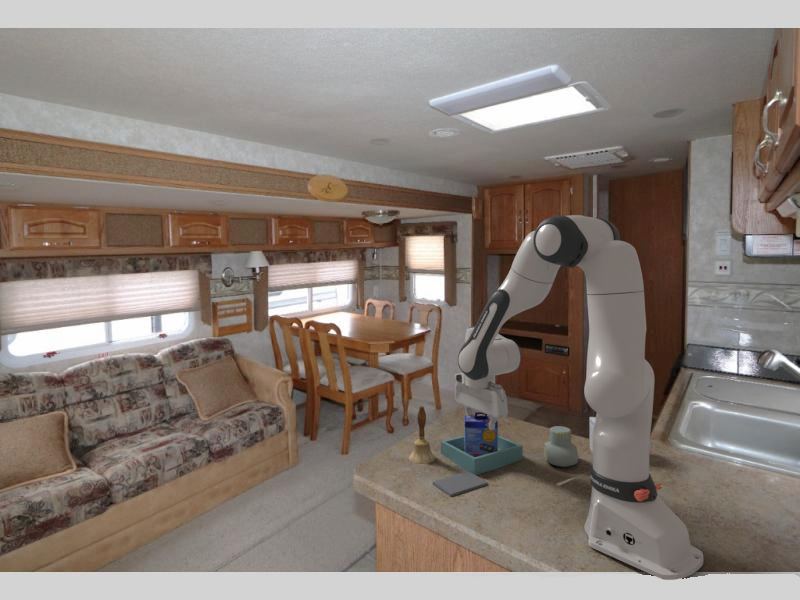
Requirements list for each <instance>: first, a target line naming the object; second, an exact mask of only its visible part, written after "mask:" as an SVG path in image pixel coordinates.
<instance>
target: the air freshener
mask: <svg viewBox="0 0 800 600" xmlns="http://www.w3.org/2000/svg"><path fill="white" fill-rule="evenodd" d="M543 454H544V458H545V459H544V460H545V461H546V462H547V463H548V464H550V465H553V466H555V467H559V468H567V467H571V466H574V465H576V464H578V461H579V454H578V449H577V446H576V445H575V444H574V443H572V430H571V428H568V427H566V426H560V425H559V426H558V425H554V426H552V427H550V428H549V440H548V441H546V442H545V443H543Z"/></svg>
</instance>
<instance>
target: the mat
mask: <svg viewBox="0 0 800 600" xmlns="http://www.w3.org/2000/svg"><path fill="white" fill-rule="evenodd" d="M488 484H489V483H488V481H486V480H485V479H483V478H482V477H479V476H478V475H474V474H473V473H471V472H469V471H464V472H460V473H457V474H455V475H451V476H447V477H445V478H441V479H437V480H434V481H432V485H433V486H435V487H436V488H437V489H439V490H441V492H443V493H444V494H446V495H447V496H449V497H455V496H456V495H461V494H463V493H466V492H469V491H471V490H474V489H479V488H482V487H484V486H487V485H488Z"/></svg>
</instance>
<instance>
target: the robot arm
mask: <svg viewBox="0 0 800 600" xmlns="http://www.w3.org/2000/svg"><path fill="white" fill-rule="evenodd" d="M620 237H621V235H620V232H619V230H618V228H617V227H616V226H615V225H614V224H613V223H612V222H611V221H609V220H608V219H605V218H602V217H591V216H586V215H582V214H581V215H580V214H572V215H562V214H561V215H560V214H559V215H554V216H550V217H548V218H545V219H544V220H543V221H541V222H540V223H539V225H538V226H536V228H535V230H533V231H531V232H529V233H528V234H527V235H526V236H525V238H524V240H523V241H522V243H521V245H520V246H519V248H518V250H517V252H516V254H515V256H514V259H513V261H512V264H511V267H510V269H509V272H508V274H507V275H506V277H505V279H504V280H503V282H502V283H501V285H500V286H499V287H498V289H497V290H496V291H494V293H493V294H491V296H490V297H489V299H488V301H487V302H486V304H485V306H484V308H483V309H482V312H481V314H480V315H479V318H478V320H477V322H476V324H475V325H473V326H470V327H468V328H467V329H466V332H465V338H464V343H463V345H462V346H461V347H460V350H459V353H458V356H457V364H458V367H459V368H458V369H459V370H460V371H461V372H459V373H455V374H454V381H455V384H454V399H455V401H456V403H457V404H459V405H462V406H463V408H464V412H465V414H466V416H475V414H473V410H474V411H477V412H482V413H485V414H487V416H489V419H490V421H489V423H487V429H489V430H494V429H495V423H496V421H498V420H499V419H503V418H506V417H507V416H508V414H509V409H508V407H509V406H508V398H507V395H506V391H505V389H504V387H503V386H502V385H501V384H498V383H496V376H500V375H503V374H509V373H512V372H514V371H516V370H518V368H519V367H520V365H521V362H522V352H521V348H520V346H519V344H517V343H516V342H515V341H514V340H513V339H509V338H506V337H504V336H503V335H501V334H499V332H500V330H501V328H502V327H503V325H504V324H505V323H506V322H507V321H509V319H511V318H512V317H514V316H517V315H518V314H520V313H522V312H525V311H526V310H529V309H532V308H534V307H536V306H538V305H540V304H542V302H543V301H545V298H547V296H548V295H549V293H550V291H551V289H552V287H553V284H554V282H555V279H556V276H557V274H558V272H559V269H560V268H561V267H562V266H563V267H566V268H570V269H573V268H574V267H578V268H580V269H581V270H582V271H583V273H584V276H585V282H586V300H587V314H588V344H587V354H586V355H587V357H586V376H585V377H586V378H585V383H584V389H583V391H584V398H585V400H586V403H587V404H588V405H589V407H590V409H592V410H593V411H595V413H596V416H595V417H596V420H595V425H594V429H593V452H592V465H591V466H590V473H589V474H590V476H589V479H590V481H589V482H590V485H591V494H590V501H589V509H588V512H587V517H586V520H585V523H584V525H583V526H584V532H585V533H586V535H587V537H588V541H587V542H588V546H589V548H592V549H594V550H596V551H599V552H601V553H603V554H605V555H607V556H610V557H611V558H614V559H616V560H619V561H621V562H623V563H625V564H627V565H630V566H632V567H634V568H636V569H638V570H641V571H643V572H645V573H647V574H649V575H651V576H654V577H656V578H658V579H661V580H665V581H672V580H673V581H674V580H675V581H676V580H680V579H684V578H687V577H688V576H691V575H693V574H694V573H696V572H698V571H699V570H700V568H702V567H703V565H704V553H703V552H702V550H700V549H698V548H697V547H696V546H695V545H694V546H693V545H692V544H691V541H690V535H689V531H688V528H687V525H686V524H685V523H684V521H682V519H680V518H679V517H678V516H677V514H676V513H674V511H673V510H672V509H671V508H670V507H669V506H668V505H667V504H666V503H665V502H664V500H662V499H661V498H660V497H659V496H658V491H659V490H661V489H663V486H662V485H663V483H661V482H660V483H657V484H655V482H654V480H653V477H652V475H651V474H650V442H651V441H650V440H651V438H650V437H651V429H652V422H653V421H652V419H653V411H654V410H653V406H654V396H655V395H654V393H655V373H654V369H653V368H652V366H651V364H650V363H649V362H648V360H646V356H645V355H646V337H647V336H646V334H647V318H646V317H647V314H646V302H645V299H646V298H645V289H644V288H645V285H644V278H643V272H642V268H641V263H640V260H639V255H638V253H637V250H636V248H635V246H633V245H632V244H631V243H629V242H627V241H624V240H621V238H620Z"/></svg>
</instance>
